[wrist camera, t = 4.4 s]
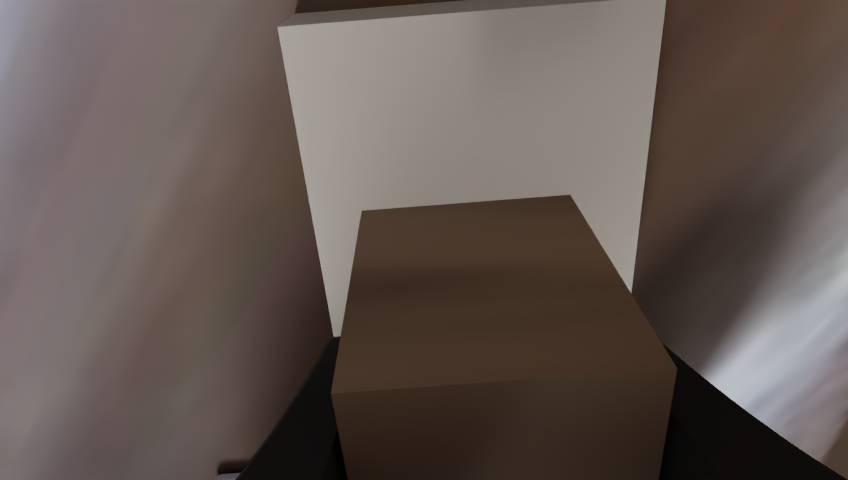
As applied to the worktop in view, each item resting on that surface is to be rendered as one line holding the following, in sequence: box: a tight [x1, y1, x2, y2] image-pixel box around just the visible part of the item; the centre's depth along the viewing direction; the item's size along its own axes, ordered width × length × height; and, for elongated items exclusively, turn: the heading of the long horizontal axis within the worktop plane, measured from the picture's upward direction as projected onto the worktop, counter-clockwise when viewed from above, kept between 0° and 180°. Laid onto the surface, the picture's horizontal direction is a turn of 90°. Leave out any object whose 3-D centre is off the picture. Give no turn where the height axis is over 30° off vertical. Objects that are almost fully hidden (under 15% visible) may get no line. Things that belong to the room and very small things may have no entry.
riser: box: [278, 0, 666, 337], centre depth 19 cm, size 10×10×3 cm
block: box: [331, 195, 677, 480], centre depth 10 cm, size 4×4×5 cm
